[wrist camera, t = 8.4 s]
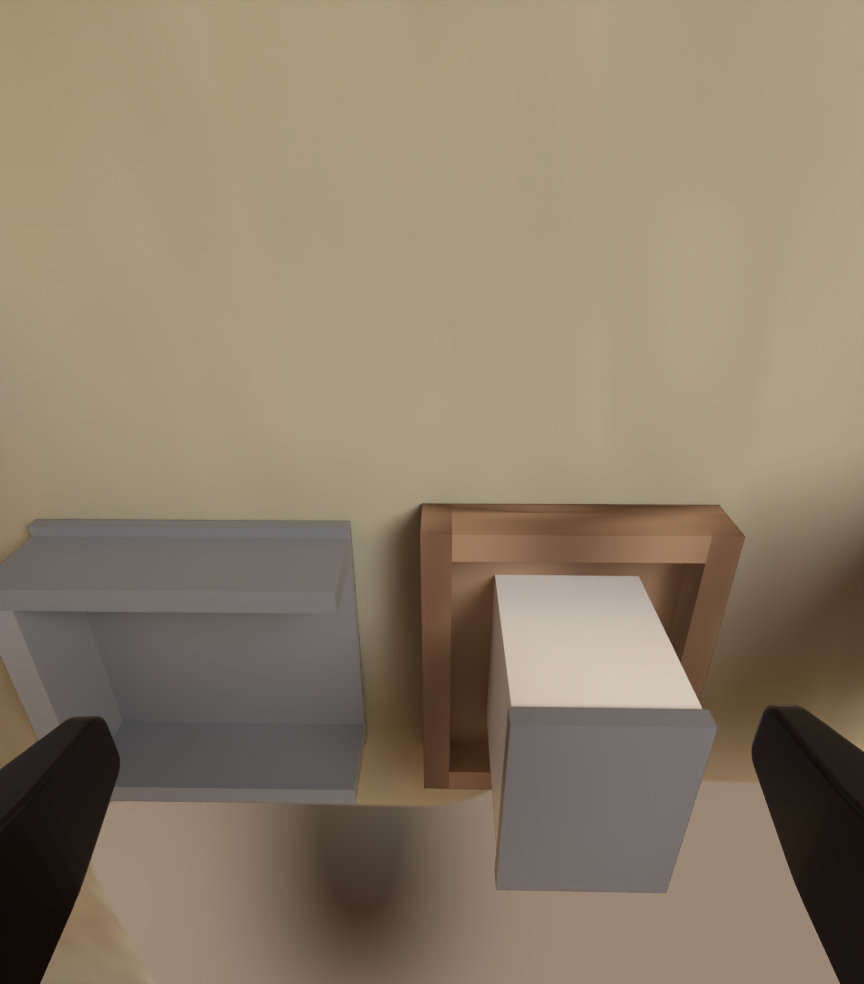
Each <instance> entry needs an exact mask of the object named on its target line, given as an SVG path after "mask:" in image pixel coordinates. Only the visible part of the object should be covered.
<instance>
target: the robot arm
mask: <svg viewBox="0 0 864 984" xmlns="http://www.w3.org/2000/svg"><path fill="white" fill-rule="evenodd" d="M752 760H753V764H754V768H755V771H756V773H757V776H758V779H759V782H760V785H761V788H762V791H763V794H764V796H765V800H766V802H767V805H768V808H769V811H770V814H771V817H772V820H773V822H774V826H775V828H776V831H777V834H778V837H779V840H780V843H781V846H782V849H783V852H784V855H785V858H786V860H787V863H788V866H789V869H790V871H791V874H792V877H793V880H794V882H795V885H796V887H797V889H798V891H799V894H800V896H801V898H802V901H803V903H804V906H805V908H806V910H807V912H808V914H809V916H810V919H811V920H812V923H813V925H814V927H815V930H816V932H817V934H818V936H819V938H820V941H821V943H822V945H823V947H824V949H825V952H826V954H827V956H828V958H829V960H830V962H831V965H832V967H833V969H834V971H835V973H836V976H837V978H838V980H839V982H840V984H864V752H863V751H862V750H860V749H859V748H858V747H856V746H855V745H854V744H852V743H851V742H850V741H848V740H847V739H845V738H844V737H843V736H841V735H840V734H839V733H837V732H836V731H835V730H833V729H832V728H830V727H829V726H828V725H826V724H825V723H824V722H822V721H821V720H819V719H818V718H817V717H815V716H814V715H813V714H811V713H810V712H809V711H807V710H806V709H804V708H802V707H800V706H798V705H769V706H767V707H766V708H765V709H764V710H763V712H762V715H761V718H760V721H759V724H758V728H757V731H756V734H755V737H754V740H753V744H752ZM119 770H120V755H119V752H118V750H117V747H116V745H115V742H114V740H113V737H112V735H111V732H110V730H109V727H108V725H107V722H106V721H105V720H104V719H103V718H102V717H100V716H75V717H71V718H69V719H67V720H65V721H64V722H62V723H61V724H60V725H58V726H57V727H56V728H54V729H53V730H52V731H50V732H49V733H48V734H46V735H45V736H44V737H43V738H41V739H40V740H39V741H37V742H36V743H35V744H33V745H32V746H31V747H29V748H28V749H27V750H25V751H24V752H23V753H21V754H20V755H19V756H17V757H16V758H15V759H13V760H12V761H11V762H9V763H8V764H7V765H5V766H4V767H3V768H1V769H0V984H40V983H41V980H42V978H43V976H44V973H45V971H46V969H47V967H48V964H49V962H50V960H51V957H52V955H53V953H54V950H55V948H56V946H57V943H58V941H59V939H60V937H61V934H62V932H63V930H64V927H65V925H66V923H67V920H68V918H69V916H70V914H71V911H72V909H73V906H74V904H75V901H76V899H77V897H78V894H79V892H80V889H81V886H82V884H83V881H84V878H85V875H86V872H87V869H88V866H89V863H90V860H91V857H92V854H93V851H94V848H95V845H96V842H97V839H98V836H99V833H100V830H101V827H102V824H103V821H104V817H105V814H106V811H107V808H108V805H109V802H110V799H111V796H112V793H113V790H114V787H115V784H116V781H117V778H118V774H119Z"/></svg>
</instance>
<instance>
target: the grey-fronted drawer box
mask: <svg viewBox="0 0 864 984" xmlns="http://www.w3.org/2000/svg"><path fill="white" fill-rule="evenodd" d="M486 718H487V731H488V744H489V757H490V770H491V783H492V796H493V809H494V821H495V834H496V847H497V848H496V860H495V881H496V890H528V891H531V890H532V891H580V892H581V891H583V892H631V893H632V892H633V893H666V892H667V889H668V886H669V882H670V879H671V876H672V873H673V870H674V866H675V863H676V860H677V857H678V853H679V851H680V847H681V844H682V841H683V838H684V835H685V831H686V828H687V825H688V822H689V819H690V815H691V812H692V809H693V806H694V803H695V800H696V797H697V793H698V790H699V787H700V784H701V781H702V777H703V774H704V771H705V768H706V765H707V762H708V758H709V755H710V752H711V749H712V746H713V742H714V739H715V736H716V733H717V730H718V727H717V725H716V723H715V721H714V719H713V717H712V715H711V713H710V711H709V709H702V707H701V705H700V703H699V700H698V698H697V696H696V694H695V692H694V690H693V688H692V686H691V684H690V682H689V680H688V678H687V675H686V673H685V671H684V669H683V667H682V665H681V663H680V661H679V659H678V657H677V655H676V653H675V651H674V648H673V646H672V644H671V642H670V640H669V638H668V636H667V634H666V632H665V630H664V628H663V626H662V624H661V621H660V619H659V617H658V615H657V613H656V611H655V609H654V607H653V605H652V603H651V601H650V599H649V597H648V594H647V592H646V590H645V588H644V586H643V584H642V582H641V580H640V578H639V576H571V575H495V582H494V598H493V615H492V632H491V649H490V665H489V682H488V699H487V716H486Z"/></svg>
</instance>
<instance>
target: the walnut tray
mask: <svg viewBox="0 0 864 984" xmlns="http://www.w3.org/2000/svg"><path fill="white" fill-rule="evenodd" d="M744 539H745V536H744V535H743V533H742V532H741V531H740V530H739V529H738V527H737V526H736V525H735V524H734V523H733V521H732V520H731V519H730V518H729V516H728V515H727V514H726V513H725V512H724V510H723V509H722V508H721V507H720V506H719V505H608V504H422V514H421V529H420V559H421V621H422V682H423V743H424V788H439V789H492V783H491V770H490V757H489V744H488V731H487V718H486V716H487V699H488V682H489V665H490V649H491V632H492V615H493V598H494V582H495V575H571V576H639V578H640V580H641V582H642V584H643V586H644V588H645V590H646V592H647V594H648V597H649V599H650V601H651V603H652V605H653V607H654V609H655V611H656V613H657V615H658V617H659V619H660V621H661V624H662V626H663V628H664V630H665V632H666V634H667V636H668V638H669V640H670V642H671V644H672V646H673V648H674V651H675V653H676V655H677V657H678V659H679V661H680V663H681V665H682V667H683V669H684V671H685V673H686V675H687V678H688V680H689V682H690V684H691V686H692V688H693V690H694V692H695V694H696V696H697V698H698V700H699V701H700V697H701V693H702V690H703V686H704V683H705V679H706V675H707V672H708V668H709V665H710V661H711V657H712V654H713V650H714V647H715V643H716V639H717V636H718V632H719V629H720V625H721V621H722V618H723V614H724V611H725V607H726V603H727V600H728V596H729V593H730V589H731V585H732V582H733V578H734V575H735V571H736V568H737V564H738V560H739V557H740V553H741V550H742V546H743V542H744Z"/></svg>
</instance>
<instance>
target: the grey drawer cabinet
mask: <svg viewBox="0 0 864 984" xmlns="http://www.w3.org/2000/svg"><path fill="white" fill-rule="evenodd" d="M28 530H29V532H30V535H31V537H30V538H29V539H28V540H27V541H26V542H24V543H23V544H22V545H21V546H20V547H19V548H18V549H17V550H15V551H14V552H13V553H12V554H11V555H10V556H9V557H7V558H6V559H5V560H4V561H3V562H2V563H1V564H0V656H1V658H2V661H3V663H4V665H5V667H6V670H7V672H8V674H9V676H10V679H11V681H12V683H13V685H14V688H15V690H16V692H17V694H18V697H19V699H20V701H21V703H22V706H23V708H24V710H25V712H26V715H27V717H28V719H29V721H30V723H31V726H32V728H33V730H34V732H35V735H36V737H37V739H38V741H39V740H40V739H41V738H43V737H44V736H45V735H46V734H48V733H49V732H50V731H52V730H53V729H54V728H56V727H57V726H58V725H60V724H61V723H62V722H64V721H65V720H67V719H69V718H71V717H75V716H100V717H102V718H103V719H104V720H105V721H106V722H107V725H108V727H109V730H110V732H111V735H112V737H113V740H114V742H115V745H116V747H117V750H118V752H119V755H120V770H119V774H118V778H117V781H116V784H115V787H114V790H113V793H112V796H111V799H110V801H163V802H166V801H167V802H234V803H306V804H356V799H357V792H358V785H359V778H360V771H361V764H362V757H363V750H364V744H366V738H367V728H366V715H365V703H364V690H363V677H362V664H361V652H360V639H359V626H358V614H357V601H356V588H355V575H354V563H353V550H352V537H351V525H350V521H256V520H67V519H36V520H35V521H34V522H32V523H31V524H30V525H29V526H28Z"/></svg>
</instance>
